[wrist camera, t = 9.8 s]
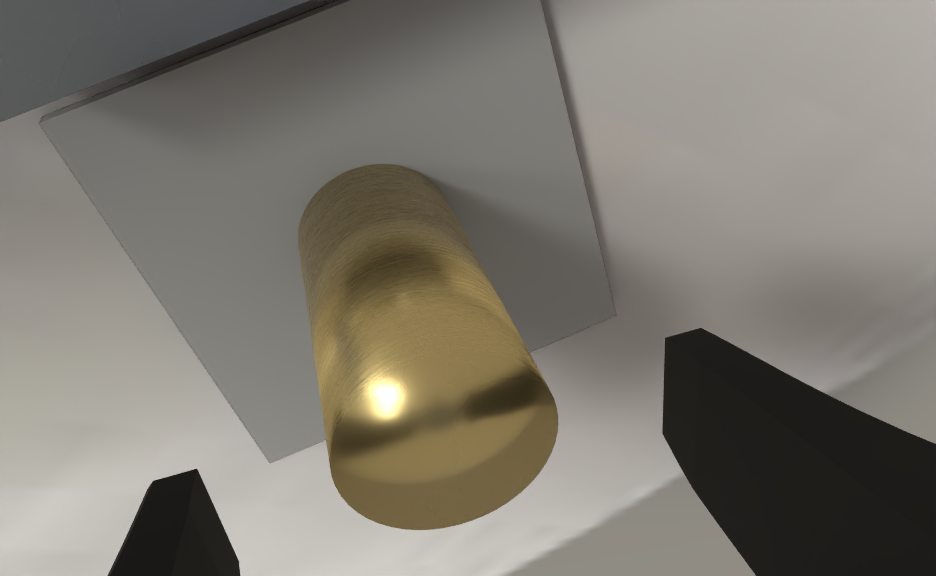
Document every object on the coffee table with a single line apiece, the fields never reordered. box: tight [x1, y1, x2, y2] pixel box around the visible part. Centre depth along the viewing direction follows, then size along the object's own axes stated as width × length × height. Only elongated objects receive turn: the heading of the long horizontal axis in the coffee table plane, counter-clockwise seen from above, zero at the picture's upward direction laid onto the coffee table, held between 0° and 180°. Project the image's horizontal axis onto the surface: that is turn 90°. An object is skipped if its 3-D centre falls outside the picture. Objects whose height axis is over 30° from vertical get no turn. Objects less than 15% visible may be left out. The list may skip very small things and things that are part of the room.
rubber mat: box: [38, 0, 616, 463], centre depth 18 cm, size 10×10×1 cm
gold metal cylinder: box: [298, 164, 558, 530], centre depth 15 cm, size 4×4×7 cm
